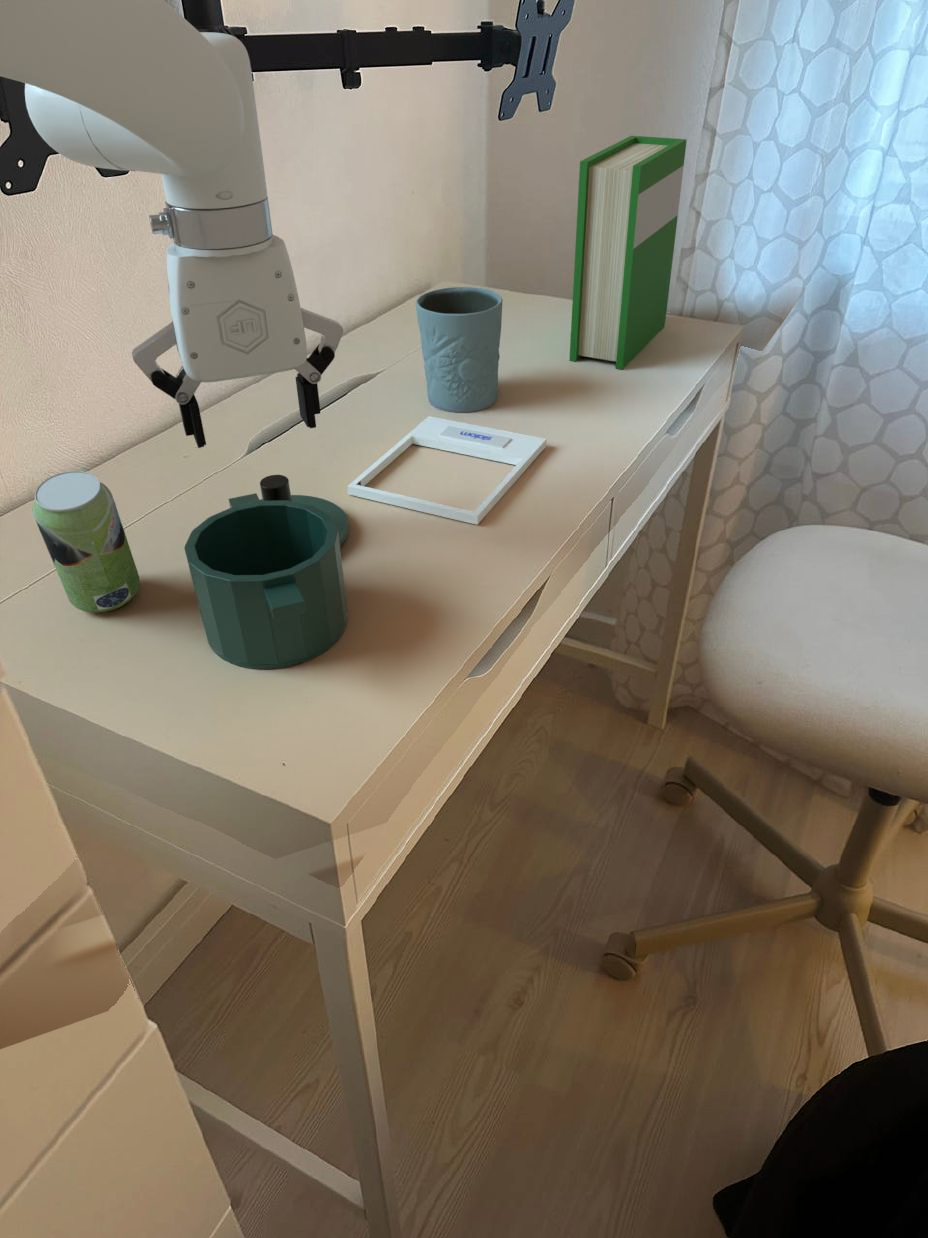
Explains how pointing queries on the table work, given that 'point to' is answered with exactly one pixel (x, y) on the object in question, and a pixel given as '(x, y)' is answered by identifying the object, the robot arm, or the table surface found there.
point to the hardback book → (625, 246)
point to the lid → (303, 501)
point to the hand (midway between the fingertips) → (255, 431)
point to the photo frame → (456, 440)
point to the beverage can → (86, 541)
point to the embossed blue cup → (460, 346)
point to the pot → (268, 582)
